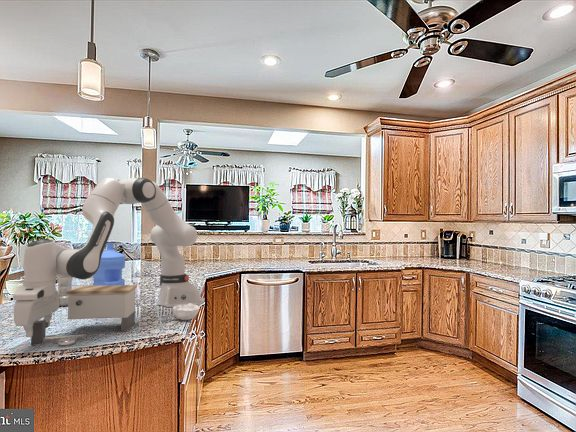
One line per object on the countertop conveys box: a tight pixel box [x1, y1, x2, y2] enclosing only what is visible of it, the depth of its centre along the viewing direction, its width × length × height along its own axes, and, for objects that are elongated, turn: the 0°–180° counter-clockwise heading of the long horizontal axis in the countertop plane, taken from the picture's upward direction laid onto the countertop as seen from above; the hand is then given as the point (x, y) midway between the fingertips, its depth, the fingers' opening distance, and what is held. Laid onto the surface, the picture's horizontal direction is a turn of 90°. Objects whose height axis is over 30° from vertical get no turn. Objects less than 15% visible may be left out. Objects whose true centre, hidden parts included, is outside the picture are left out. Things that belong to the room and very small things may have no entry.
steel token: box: [57, 337, 77, 348], centre depth 113 cm, size 5×5×2 cm
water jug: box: [92, 242, 126, 286], centre depth 192 cm, size 16×16×28 cm
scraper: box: [30, 319, 88, 346], centre depth 115 cm, size 16×3×7 cm, turn 107°
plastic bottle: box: [56, 275, 74, 307], centre depth 163 cm, size 6×7×20 cm
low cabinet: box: [66, 284, 138, 332], centre depth 129 cm, size 21×12×15 cm, turn 99°
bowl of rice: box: [172, 303, 201, 321], centre depth 143 cm, size 10×12×7 cm
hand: (38, 331), depth 113 cm, fingers open, 8 cm apart
